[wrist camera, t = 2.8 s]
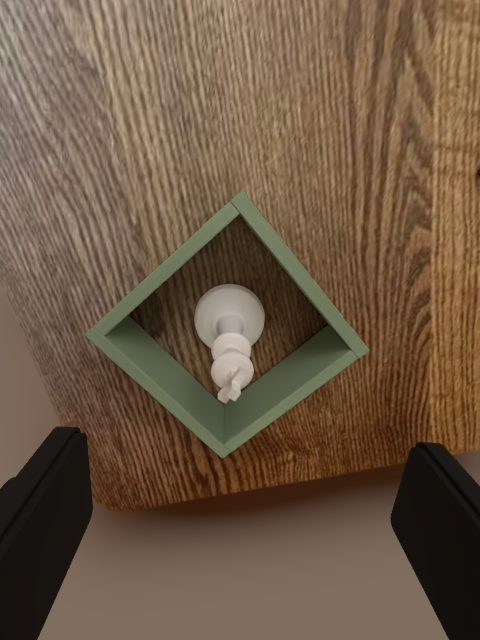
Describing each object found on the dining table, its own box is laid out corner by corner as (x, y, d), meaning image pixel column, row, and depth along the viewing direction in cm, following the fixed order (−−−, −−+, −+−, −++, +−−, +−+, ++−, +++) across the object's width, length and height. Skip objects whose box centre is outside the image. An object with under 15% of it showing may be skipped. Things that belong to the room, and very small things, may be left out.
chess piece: (278, 310, 23) (317, 381, 14) (237, 362, 24) (245, 462, 15) (221, 269, 22) (218, 316, 12) (180, 326, 23) (150, 408, 14)
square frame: (109, 311, 22) (83, 335, 18) (238, 193, 20) (242, 189, 16) (222, 417, 26) (222, 459, 21) (343, 325, 24) (370, 350, 19)
